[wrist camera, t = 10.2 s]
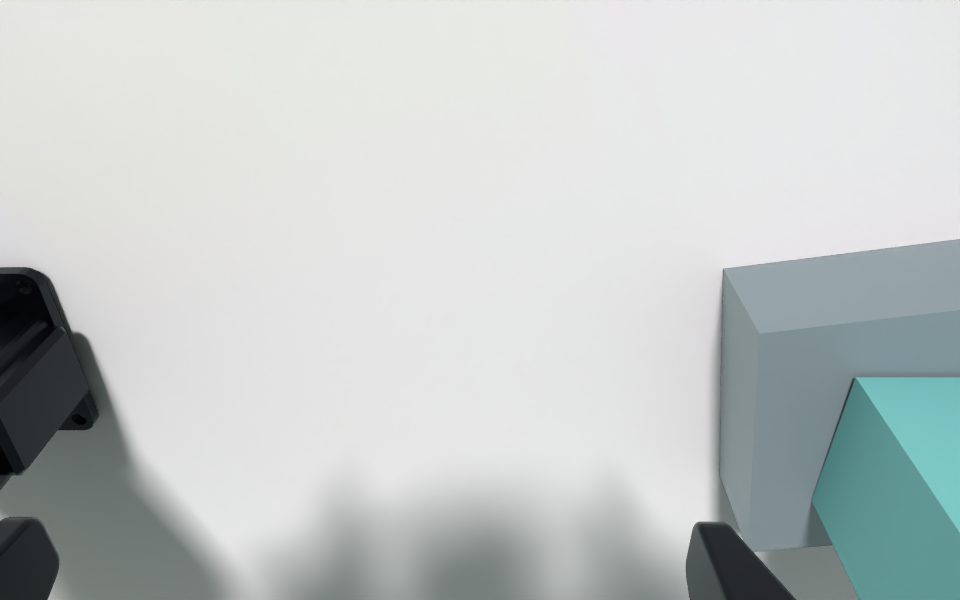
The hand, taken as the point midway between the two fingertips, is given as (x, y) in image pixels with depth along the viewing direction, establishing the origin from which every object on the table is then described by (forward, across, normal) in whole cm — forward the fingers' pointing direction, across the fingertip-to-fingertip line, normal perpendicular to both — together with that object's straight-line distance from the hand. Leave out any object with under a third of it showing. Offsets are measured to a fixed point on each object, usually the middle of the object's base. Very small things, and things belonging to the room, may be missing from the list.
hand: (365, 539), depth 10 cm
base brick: (+14, -14, +7) cm, 21 cm away
